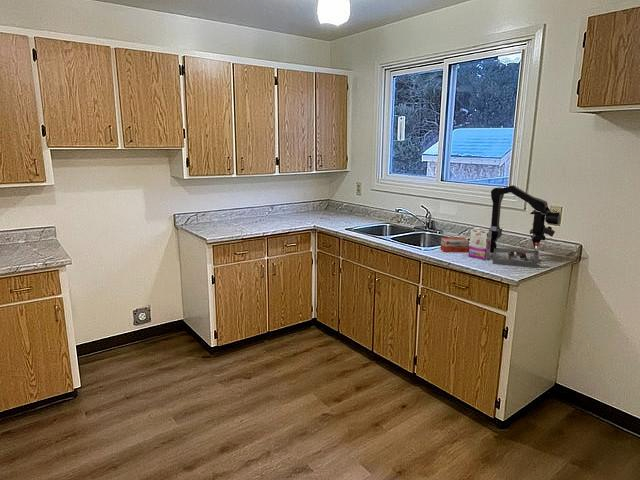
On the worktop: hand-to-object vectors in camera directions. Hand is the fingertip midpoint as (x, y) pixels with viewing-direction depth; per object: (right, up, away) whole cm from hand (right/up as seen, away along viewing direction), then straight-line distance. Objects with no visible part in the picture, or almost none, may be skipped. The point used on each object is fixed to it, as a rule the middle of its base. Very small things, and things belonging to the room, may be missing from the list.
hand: (535, 249), depth 244 cm
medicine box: (-41, -2, +20) cm, 46 cm away
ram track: (-1, -6, -1) cm, 6 cm away
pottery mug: (-11, -7, -2) cm, 13 cm away
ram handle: (-1, -7, -2) cm, 7 cm away
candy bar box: (-31, -5, +4) cm, 32 cm away
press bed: (-17, -8, -10) cm, 21 cm away
